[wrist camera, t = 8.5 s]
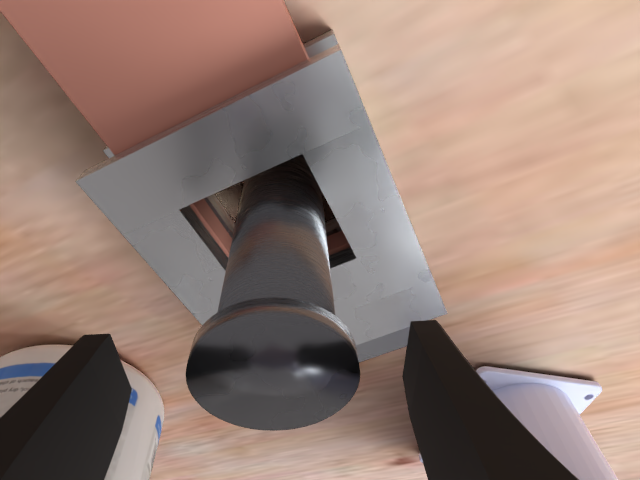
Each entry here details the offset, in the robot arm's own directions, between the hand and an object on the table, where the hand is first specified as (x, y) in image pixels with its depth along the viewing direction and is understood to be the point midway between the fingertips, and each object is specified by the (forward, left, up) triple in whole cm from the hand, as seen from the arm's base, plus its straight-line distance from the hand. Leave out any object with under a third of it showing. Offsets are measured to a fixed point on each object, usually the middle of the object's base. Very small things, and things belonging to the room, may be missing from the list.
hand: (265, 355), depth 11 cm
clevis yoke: (-2, -1, -9) cm, 9 cm away
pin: (+1, 0, -9) cm, 9 cm away
